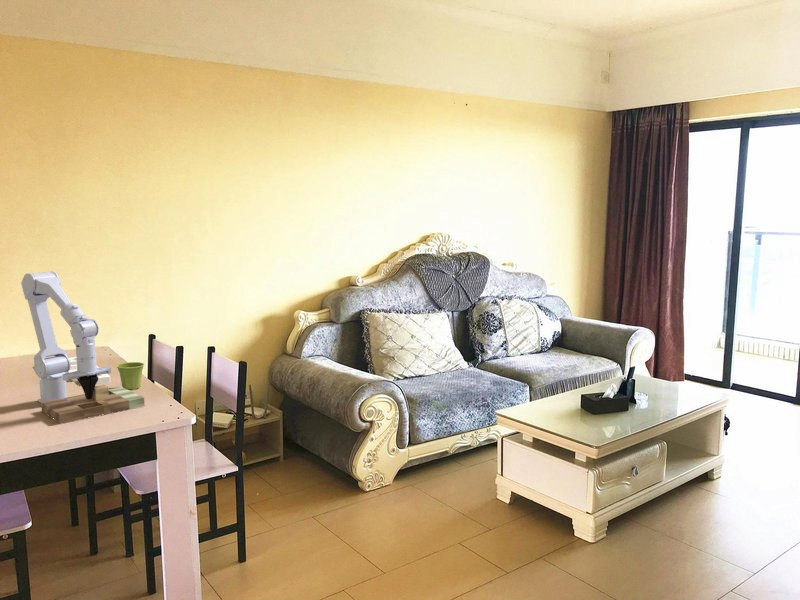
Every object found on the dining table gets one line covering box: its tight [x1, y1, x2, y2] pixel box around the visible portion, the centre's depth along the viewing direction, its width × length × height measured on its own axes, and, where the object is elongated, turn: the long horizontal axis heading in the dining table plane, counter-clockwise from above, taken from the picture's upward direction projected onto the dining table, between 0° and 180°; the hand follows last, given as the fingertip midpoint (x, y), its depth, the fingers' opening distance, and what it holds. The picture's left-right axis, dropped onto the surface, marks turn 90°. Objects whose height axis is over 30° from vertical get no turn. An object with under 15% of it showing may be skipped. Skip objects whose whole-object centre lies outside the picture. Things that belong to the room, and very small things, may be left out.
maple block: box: [92, 384, 109, 401], centre depth 215 cm, size 4×4×4 cm
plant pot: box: [116, 361, 145, 391], centre depth 239 cm, size 9×9×9 cm
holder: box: [67, 356, 111, 385], centre depth 260 cm, size 45×18×3 cm, turn 37°
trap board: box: [40, 386, 146, 424], centre depth 214 cm, size 18×26×3 cm
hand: (89, 398), depth 212 cm, fingers closed
